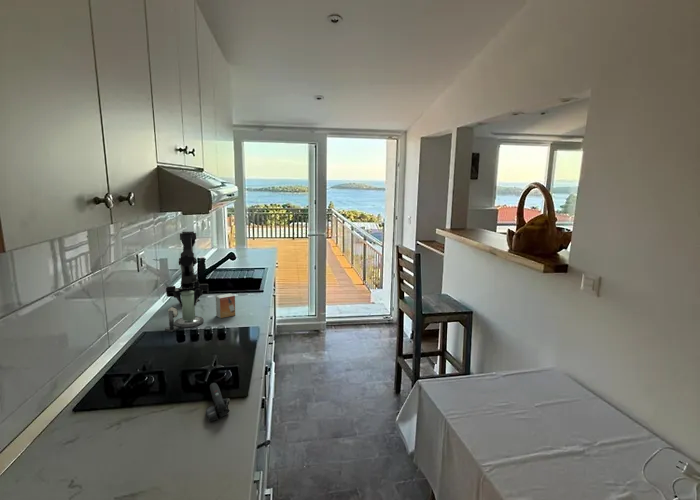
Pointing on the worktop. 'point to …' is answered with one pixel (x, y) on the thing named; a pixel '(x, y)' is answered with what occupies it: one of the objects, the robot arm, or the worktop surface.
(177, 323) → the platter
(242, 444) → the worktop surface
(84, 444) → the worktop surface
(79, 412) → the worktop surface
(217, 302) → the small box
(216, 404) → the can opener
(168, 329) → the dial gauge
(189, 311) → the canister
